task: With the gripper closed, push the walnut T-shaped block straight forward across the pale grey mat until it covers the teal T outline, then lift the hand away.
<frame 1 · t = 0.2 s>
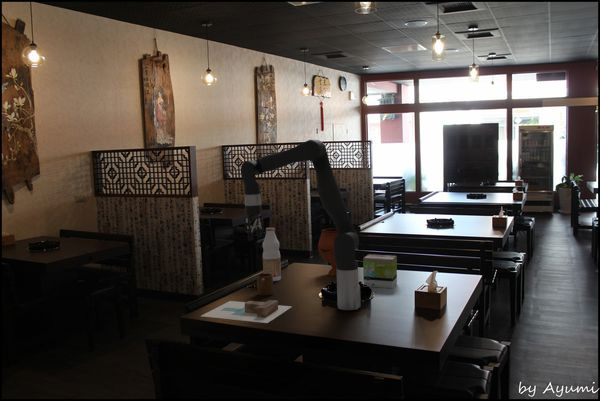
hand: (254, 239, 248), 29 cm above the table, tool pointing down, fingers open, 8 cm apart
fruit juice: (272, 280, 291), on the table
t block: (259, 312, 231), resting on mat
mat: (247, 311, 233), on the table
tea box: (380, 285, 269), on the table
mug: (264, 295, 259), on the table
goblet: (336, 274, 298), on the table
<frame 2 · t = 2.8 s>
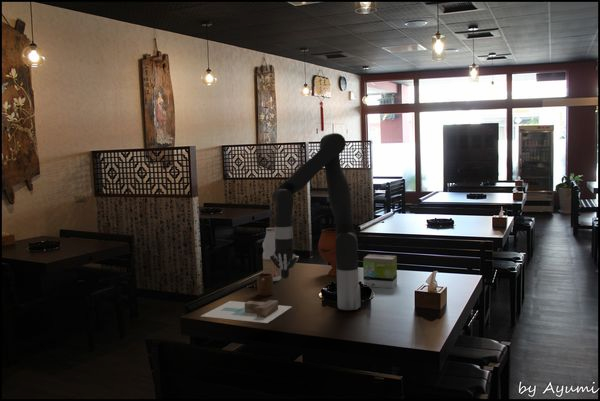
hand: (285, 278, 224), 16 cm above the table, tool pointing down, fingers closed
nothing on the table moved.
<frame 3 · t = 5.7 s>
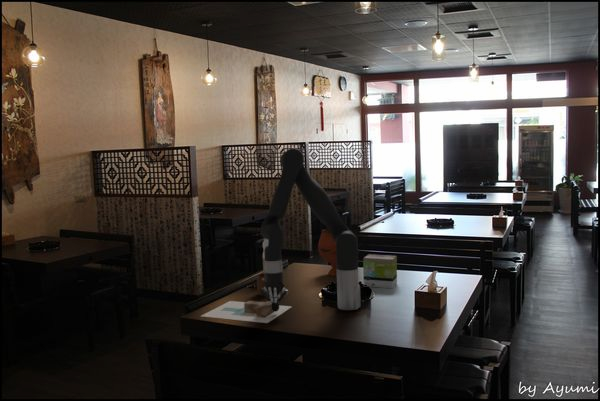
hand: (275, 310, 227), 2 cm above the table, tool pointing down, fingers closed
t block: (259, 312, 231), resting on mat, touching gripper
everything else where it was.
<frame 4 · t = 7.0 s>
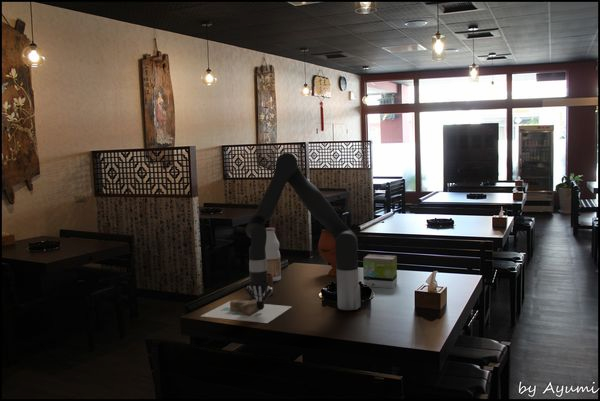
hand: (260, 309, 230), 2 cm above the table, tool pointing down, fingers closed
t block: (244, 310, 234), resting on mat, touching gripper
everything else where it was.
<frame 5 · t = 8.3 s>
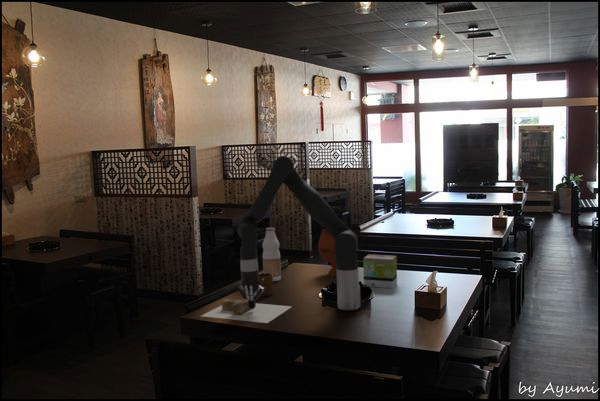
hand: (252, 308, 232), 2 cm above the table, tool pointing down, fingers closed
t block: (236, 309, 236), resting on mat, touching gripper
everything else where it was.
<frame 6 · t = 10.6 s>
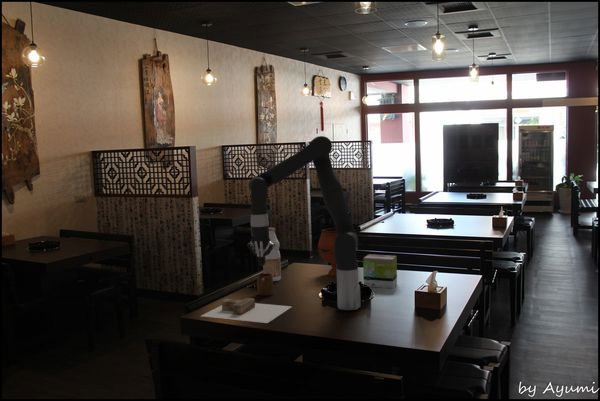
hand: (261, 265, 228), 21 cm above the table, tool pointing down, fingers closed
t block: (236, 309, 236), resting on mat
everything else where it was.
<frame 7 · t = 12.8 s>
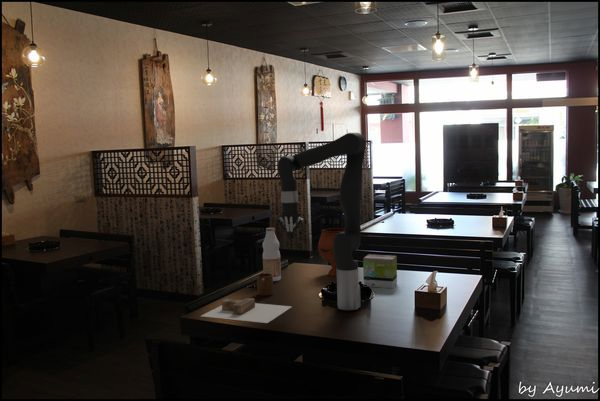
hand: (291, 239, 241), 29 cm above the table, tool pointing down, fingers closed
nothing on the table moved.
at the end: t block inside the target area (0.7 cm from its centre), resting on mat; t block tilted 0°; t block touching mat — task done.
